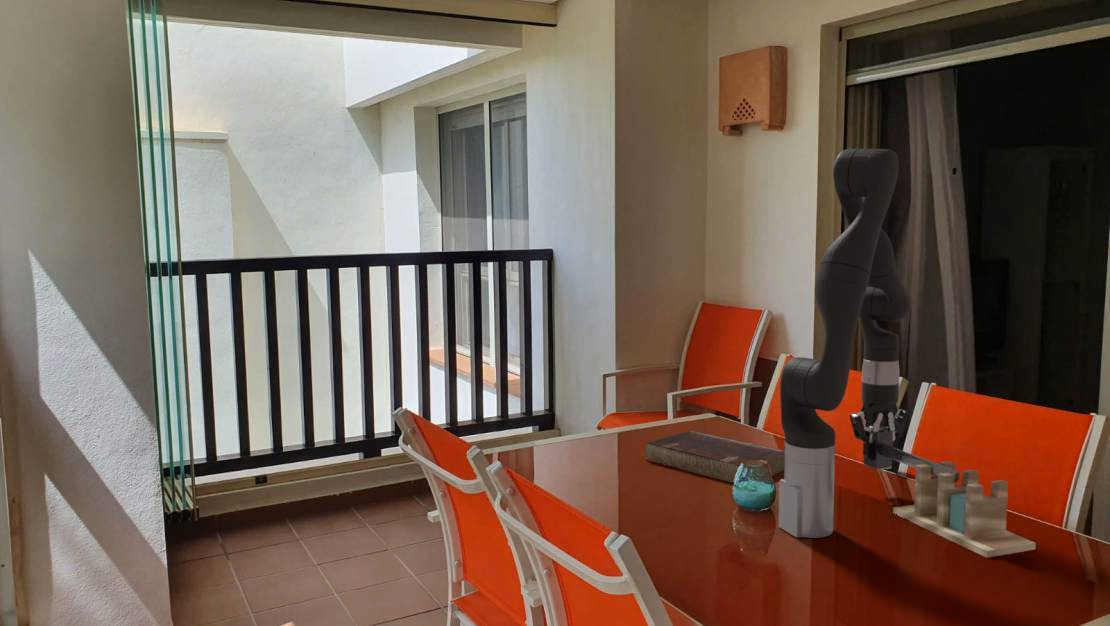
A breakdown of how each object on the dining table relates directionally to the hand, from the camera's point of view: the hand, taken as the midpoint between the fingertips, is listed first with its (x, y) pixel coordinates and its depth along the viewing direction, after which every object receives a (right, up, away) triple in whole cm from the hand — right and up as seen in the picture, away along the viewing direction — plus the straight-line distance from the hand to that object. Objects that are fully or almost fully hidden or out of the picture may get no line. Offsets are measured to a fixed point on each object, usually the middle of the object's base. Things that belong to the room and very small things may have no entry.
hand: (878, 457), depth 185 cm
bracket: (+7, -10, -22) cm, 25 cm away
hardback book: (-31, -6, +24) cm, 39 cm away
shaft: (+3, -3, -9) cm, 10 cm away
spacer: (+8, -9, -24) cm, 27 cm away
